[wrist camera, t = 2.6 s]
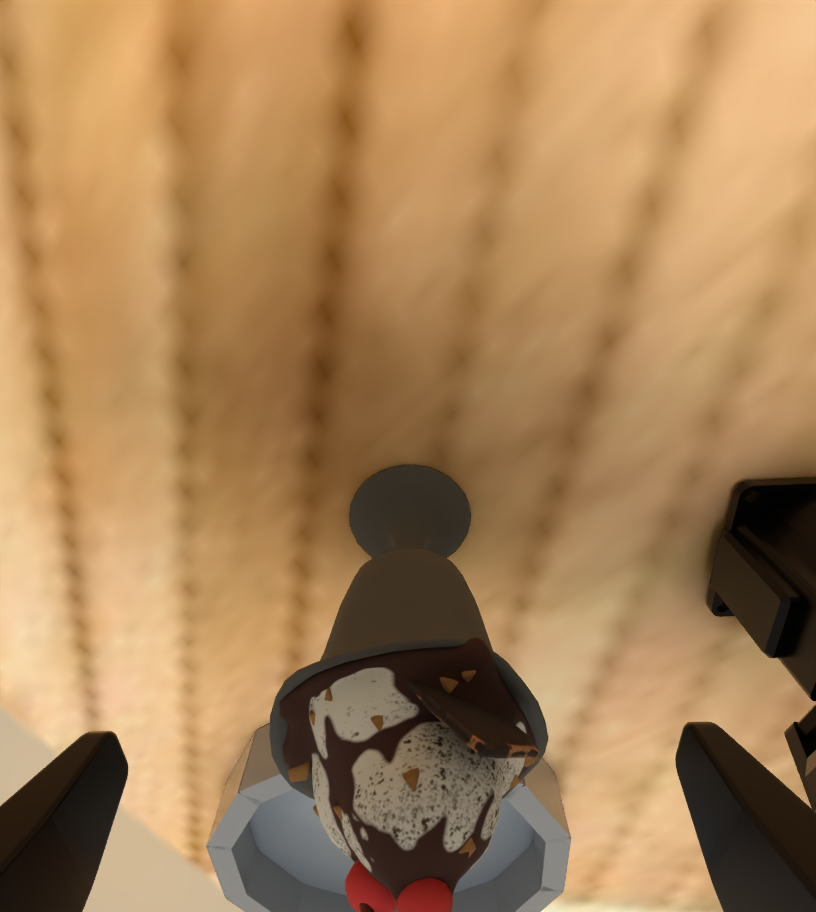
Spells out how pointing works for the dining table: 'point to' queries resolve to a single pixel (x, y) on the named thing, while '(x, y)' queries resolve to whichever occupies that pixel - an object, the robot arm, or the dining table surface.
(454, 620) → the sundae
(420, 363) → the dining table surface
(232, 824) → the grey polygonal tray
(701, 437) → the dining table surface
